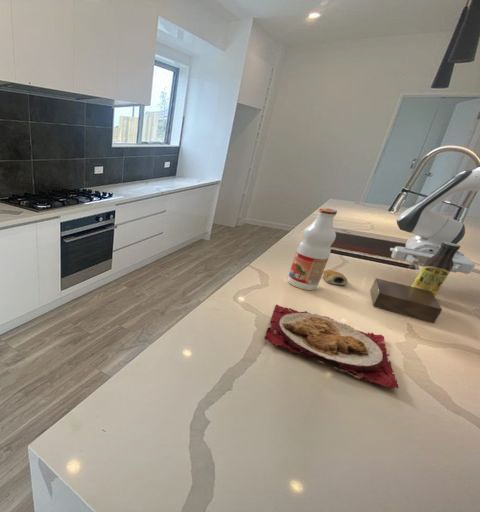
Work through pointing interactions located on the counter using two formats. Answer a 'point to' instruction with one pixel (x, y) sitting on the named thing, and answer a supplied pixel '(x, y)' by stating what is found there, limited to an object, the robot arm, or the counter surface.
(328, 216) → the fruit juice
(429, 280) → the sauce bottle
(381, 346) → the plate with food
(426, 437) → the counter surface
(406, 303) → the riser
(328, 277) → the pastry
